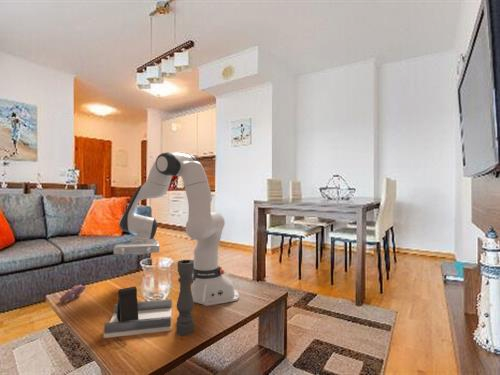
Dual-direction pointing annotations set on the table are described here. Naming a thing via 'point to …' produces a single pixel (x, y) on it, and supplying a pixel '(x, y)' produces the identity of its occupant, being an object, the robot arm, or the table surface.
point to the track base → (143, 315)
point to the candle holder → (185, 299)
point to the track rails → (141, 323)
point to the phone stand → (127, 304)
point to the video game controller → (72, 293)
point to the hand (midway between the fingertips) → (135, 252)
